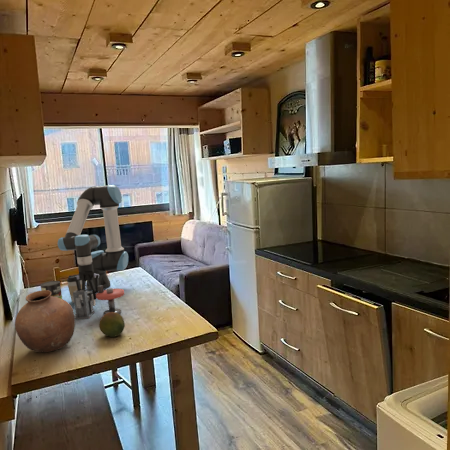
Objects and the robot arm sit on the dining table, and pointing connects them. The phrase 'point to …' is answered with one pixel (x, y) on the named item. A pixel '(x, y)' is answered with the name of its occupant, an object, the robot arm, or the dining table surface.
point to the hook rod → (79, 301)
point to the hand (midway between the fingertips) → (90, 305)
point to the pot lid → (108, 293)
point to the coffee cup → (73, 286)
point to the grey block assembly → (86, 309)
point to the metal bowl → (112, 307)
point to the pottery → (45, 322)
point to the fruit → (112, 324)
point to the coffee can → (52, 288)
